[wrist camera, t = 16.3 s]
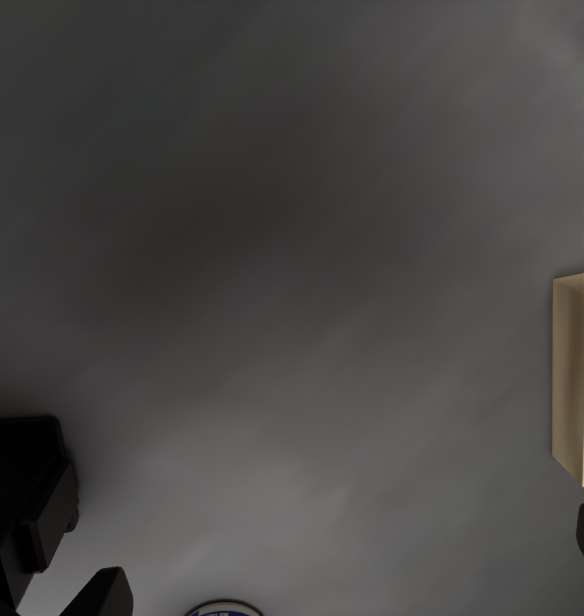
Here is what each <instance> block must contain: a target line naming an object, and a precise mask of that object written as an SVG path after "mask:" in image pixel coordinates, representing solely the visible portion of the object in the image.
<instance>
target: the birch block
mask: <svg viewBox="0 0 584 616" xmlns="http://www.w3.org/2000/svg"><path fill="white" fill-rule="evenodd" d="M552 456H553V457H554V458H555V459H556V460H557V461H558V462H559V463H560V464H561V465H562V466H563V467H564V468H565V469H566V470H567V472H568V473H569V474H570V475H571V476H572V477H573V478H574V479H575V480H576V481H577V482H578V483H579V484H580V485H581V486H582V487H584V273H581V274H576V275H571V276H567V277H562V278H557V279H553V395H552Z"/></svg>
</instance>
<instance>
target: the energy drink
mask: <svg viewBox="0 0 584 616" xmlns="http://www.w3.org/2000/svg"><path fill="white" fill-rule="evenodd" d="M189 616H260V615H258V614H257V613H256V612H255V611H254V610H252V609H251V608H249V607H247V606H245V605H242V604H238V603H233V602H219V603H213V604H209V605H206V606H203V607H201V608H199V609H197V610H196V611H194V612H193V613H192V614H190V615H189Z"/></svg>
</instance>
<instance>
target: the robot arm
mask: <svg viewBox="0 0 584 616" xmlns="http://www.w3.org/2000/svg"><path fill="white" fill-rule="evenodd" d="M43 426H47V427H49V428H50V430H46V429H44V428H43ZM78 503H79V499H78V494H77V489H76V484H75V479H74V474H73V469H72V464H71V461H70V460H69V459H68V458H67V457H66V455H65V450H64V445H63V440H62V435H61V430H60V426H59V423H58V421H57V420H56V419H54V418H52V417H26V418H6V419H0V616H20V615H19V614H18V613H17V612H16V610H17V608H18V606H19V604H20V602H21V600H22V598H23V596H24V594H25V592H26V590H27V588H28V586H29V584H30V582H31V580H32V578H33V576H34V574H36V573H43V572H44V571H45V570H46V569H47V568H48V567H49V565H50V563H51V560H52V558H53V556H54V554H55V552H56V550H57V548H58V546H59V543H60V541H61V539H62V537H63V535H64V533H67V532H71V531H73V530H74V529H75V527H76V525H77V523H78V513H77V509H76V507H77V505H78ZM69 522H70V523H69ZM576 539H577V543H578V546H579V548H580V550H581V552H582V554H583V556H584V503H583V504H581V505H580V507H579V512H578V521H577V529H576ZM132 613H133V595H132V592H131V589H130V586H129V583H128V580H127V578H126V575H125V572H124V570H123V568H122V567H119V566H116V567H109V568H103V569H100V570H99V571H98V572H97V573H96V574H95V575H94V576H93V577H92V578H91V579H90V581H89V582H88V583H87V584H86V585H85V586H84V588H83V589H82V590H81V591H80V592H79V593H78V594H77V596H76V597H75V598H74V599H73V600H72V601H71V603H70V604H69V605H68V606H67V607H66V608H65V609H64V611H63V612H62V613H61V614H60V615H59V616H132Z"/></svg>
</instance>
